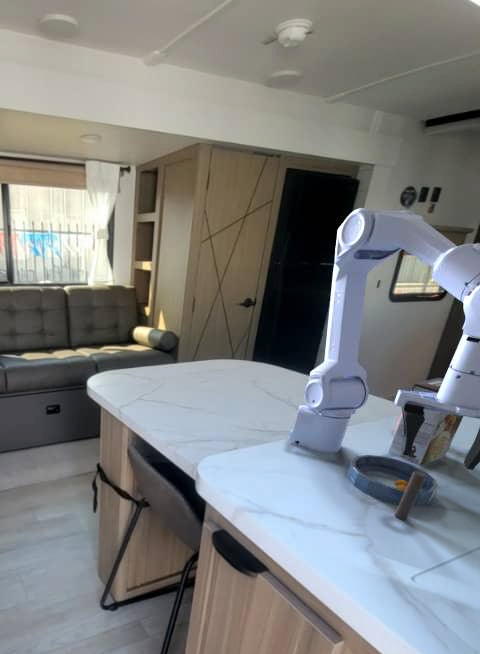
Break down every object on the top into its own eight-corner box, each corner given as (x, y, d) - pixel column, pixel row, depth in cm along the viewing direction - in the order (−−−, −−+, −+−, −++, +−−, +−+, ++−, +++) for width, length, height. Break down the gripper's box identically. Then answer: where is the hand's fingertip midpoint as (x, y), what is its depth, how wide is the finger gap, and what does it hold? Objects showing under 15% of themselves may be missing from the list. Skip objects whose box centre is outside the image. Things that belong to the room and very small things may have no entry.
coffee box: (408, 449, 86) (439, 376, 79) (443, 462, 81) (478, 386, 74) (383, 457, 82) (413, 382, 75) (417, 472, 77) (453, 393, 70)
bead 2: (413, 494, 68) (401, 496, 69) (408, 482, 68) (395, 485, 70) (407, 497, 67) (395, 499, 68) (402, 485, 67) (389, 488, 69)
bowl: (344, 498, 68) (352, 478, 67) (344, 467, 78) (351, 448, 76) (433, 522, 63) (443, 501, 61) (421, 485, 73) (430, 466, 71)
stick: (382, 523, 63) (403, 473, 58) (388, 515, 64) (409, 465, 60) (406, 534, 60) (430, 482, 56) (412, 525, 62) (435, 474, 58)
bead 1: (410, 479, 69) (402, 485, 69) (412, 489, 69) (404, 494, 69) (398, 476, 71) (390, 481, 70) (400, 485, 71) (392, 491, 71)
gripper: (414, 368, 54) (380, 457, 60) (562, 390, 48) (507, 486, 54) (408, 357, 60) (377, 439, 66) (539, 374, 53) (492, 463, 59)
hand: (435, 459), depth 60 cm, fingers open, 7 cm apart
